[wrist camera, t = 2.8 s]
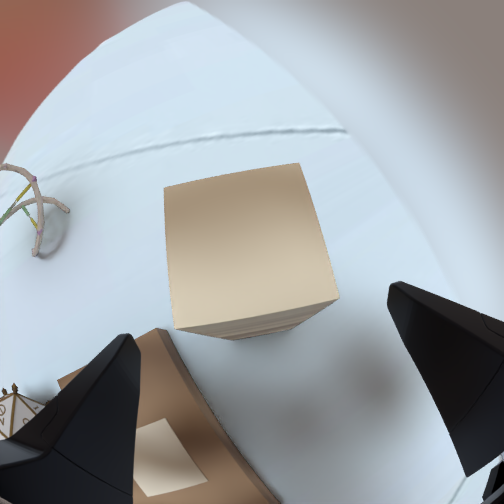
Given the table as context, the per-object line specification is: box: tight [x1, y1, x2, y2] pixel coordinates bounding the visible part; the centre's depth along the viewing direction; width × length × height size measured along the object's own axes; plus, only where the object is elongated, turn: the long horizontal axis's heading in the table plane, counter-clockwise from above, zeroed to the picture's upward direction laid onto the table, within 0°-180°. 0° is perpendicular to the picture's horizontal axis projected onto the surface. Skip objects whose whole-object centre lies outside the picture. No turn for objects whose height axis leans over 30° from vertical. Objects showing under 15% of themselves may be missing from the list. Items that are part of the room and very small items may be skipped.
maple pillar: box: [164, 163, 339, 340], centre depth 12 cm, size 4×4×12 cm
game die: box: [0, 383, 50, 440], centre depth 11 cm, size 9×8×10 cm
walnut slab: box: [57, 328, 280, 504], centre depth 14 cm, size 16×10×2 cm, turn 30°
